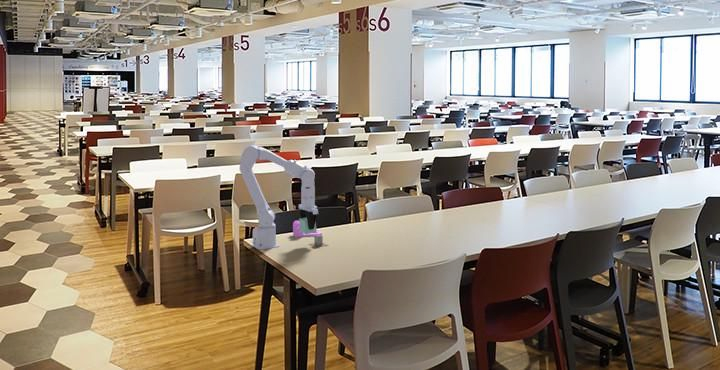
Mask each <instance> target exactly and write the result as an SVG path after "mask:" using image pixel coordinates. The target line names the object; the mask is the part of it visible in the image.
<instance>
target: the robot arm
mask: <svg viewBox="0 0 720 370" xmlns="http://www.w3.org/2000/svg"><path fill="white" fill-rule="evenodd" d="M240 157H241V158H240V163H239V171H240V173H241V177H242V178H243V179H242V180H243V181H244V182H245V185H246V187H247V190H248V192H249V194H250V197H251V200H252V201H253V205H255V210H256V214H257V216H258V220H257V221H258V226H257V227H254V228H253V229H252V245H251V246H252V247H253V248H256V249H257V250H259V251H260V250H266V249H267V250H268V249H274V248H280V245H279V244H277V239H276V237H277V233H276V230H277V229H276V228H277V227H276V223H275V222H274V221H275V219H276V214H275V212H274V210H272V209H271V207H270V205H269V204H268V202H267V201H266V198H265V196H264V193H263V191H262V188H261V187H260V184H259V182H258V180H257V178H256V175H255V172H254V170H253V167H254V165H255V162H256V161H257V160H259V161H263V160H265V161H266V160H267V161H269V162H272V163H273V164H275V165H278V166H280V167H282V168H283V171H284V172H285V173H287V174H289V175H291V176H293V177H295V178H297V179H300V180H301V187H300V188H301V189H300V191H301V196H300V198H301V200H300V201H301V203H300V204H298V209H299V210H298V211H297V213H298V216H299V218H304V217H307V221H308V228H309V230H311V229H314V226H315V222H316V223H317V219H318V218H319V215H320V214H319V209H317V208H318V206H317V205H315V204H316V203H315V202H316V194H315V193H316V187H315V179H316V177H315V175H316V173H315V171H314V170H313V169H312V168H311V167H307V165H302V164H301V163H300V162H298V160H296V159H294V160H293V159H289V160H287V159H285V158H283V157H281V156H280V155H278V154H276V153H274V152H272V151H270V150H269V149H267V148H264V147H263V146H259V145H257V144H253V143H252V144H249V145H248V146H247V147H245V149H243V152H242V153H241V156H240Z"/></svg>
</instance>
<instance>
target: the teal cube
mask: <svg viewBox="0 0 720 370" xmlns="http://www.w3.org/2000/svg"><path fill="white" fill-rule="evenodd" d="M298 221H299V223H300V232H301V233H304V234H310V233H314V232H317V231H318V230H317V221H316V222H315V226H314V229H311V230H309V228H308V221H307V217H304V218H300V217H299V218H298Z"/></svg>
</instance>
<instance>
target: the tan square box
mask: <svg viewBox="0 0 720 370" xmlns="http://www.w3.org/2000/svg"><path fill="white" fill-rule="evenodd" d="M313 237H314V241H313V242H314V243H308V245H309V246H311V247H314V248H321V247H322V248H323V247H329V244H326V243H324V242H323V239H324V237H323V234H322V235H314V236H313Z"/></svg>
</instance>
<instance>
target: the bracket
mask: <svg viewBox="0 0 720 370" xmlns="http://www.w3.org/2000/svg"><path fill="white" fill-rule="evenodd" d="M316 231H317V232H314V233H310V234H304V233H301V232H300V223H299V220H294V221H293V222H292V235H294V236H295V237H294V236H293V237H294V238H305V237H306V236H308V237H314V235H322V236H323V232H322V231H318V230H316Z"/></svg>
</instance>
